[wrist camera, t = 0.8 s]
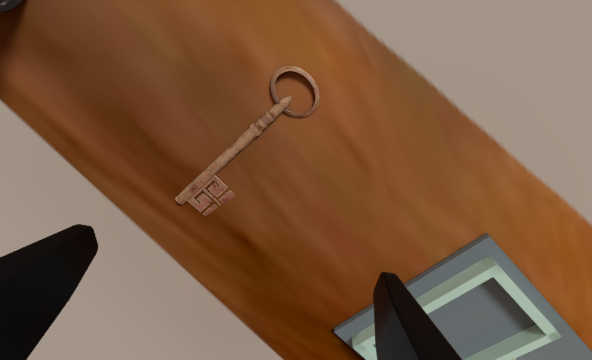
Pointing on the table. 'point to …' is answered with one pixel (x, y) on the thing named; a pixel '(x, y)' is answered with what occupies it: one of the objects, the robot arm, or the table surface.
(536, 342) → the tray frame
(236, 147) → the key
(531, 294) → the mat
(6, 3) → the pill bottle
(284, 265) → the table surface
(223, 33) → the table surface
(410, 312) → the robot arm
